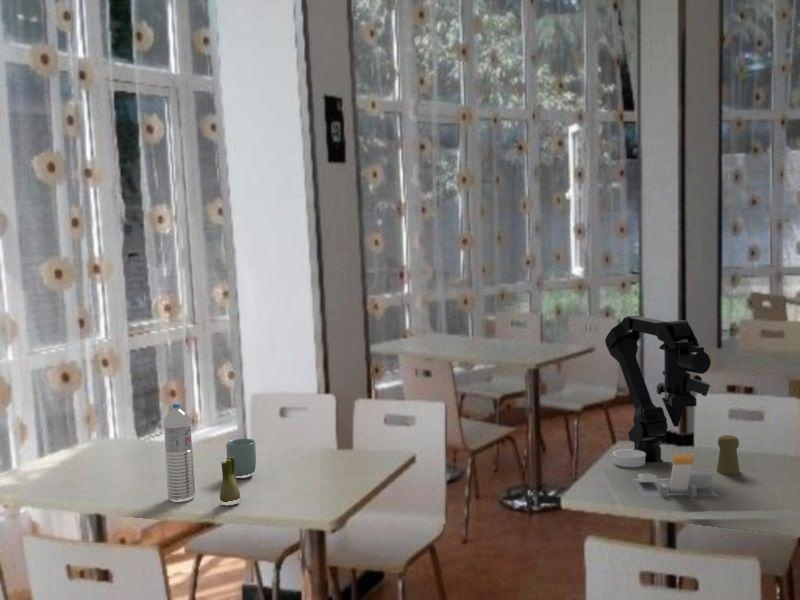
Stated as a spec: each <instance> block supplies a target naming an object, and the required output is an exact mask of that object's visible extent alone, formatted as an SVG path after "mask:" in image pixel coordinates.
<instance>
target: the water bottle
mask: <svg viewBox="0 0 800 600" xmlns="http://www.w3.org/2000/svg"><path fill="white" fill-rule="evenodd" d="M191 426H192V419H191V417H190V416H189V414H188V413H187V412H186V411H184V410H182V409H181V403H177V402H176V403H172V410H171V411H169V413H167V414H166V416H165V417H164V419H163V427H164V441H165V442H164V444H165V445H164V446H165V451H164V453H165V468H166V469H165V471H166V481H167V482H166V484H167V496H168V497H167V498H169V499H173V500H174V499H175V500H178V499H185V498H188V497H191V496H193V495H194V494H195V495H196V490H195V485H196V484H195V473H194V472H195V469H194V453H193V452H194V449H193V445H192V444H193V442H192V427H191ZM169 499H168V500H169Z"/></svg>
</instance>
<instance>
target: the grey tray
mask: <svg viewBox="0 0 800 600" xmlns="http://www.w3.org/2000/svg"><path fill="white" fill-rule="evenodd" d="M670 479H671V477H667V478H661V477H660V478H659V477H658V478H657V482H641V481H639V480H638V478H629V480H630V483H631V484H632V485H633V486H634V488H635V490H636V491H637V493H638V495H640V497H641V498H693V497H694V498H695V497H696V498H703V497H707V498H708V497H709V498H710V497H712V498H713V497H719V496H718V495H717V493H716V492H714V490H713V489H712V488H711V489H697V487H696V485H695V484H694V483H688V493H671V494H669V493H668V486H669V485H670Z"/></svg>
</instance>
